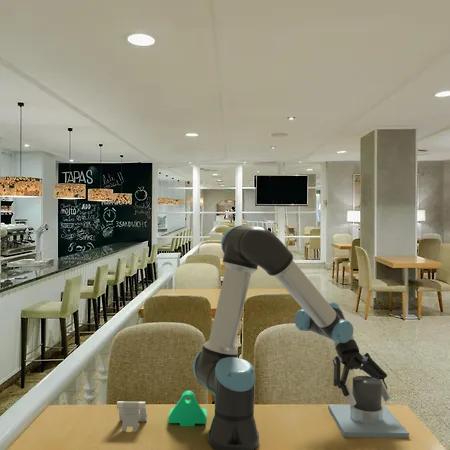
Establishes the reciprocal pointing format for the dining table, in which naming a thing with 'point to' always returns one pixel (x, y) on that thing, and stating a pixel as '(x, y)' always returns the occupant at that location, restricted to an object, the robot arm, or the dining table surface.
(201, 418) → the camera mount
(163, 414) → the dining table surface
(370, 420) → the pale grey faceted ring
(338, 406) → the board
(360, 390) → the dome-topped grey cylinder
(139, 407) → the portable electronic device stand
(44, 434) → the dining table surface
